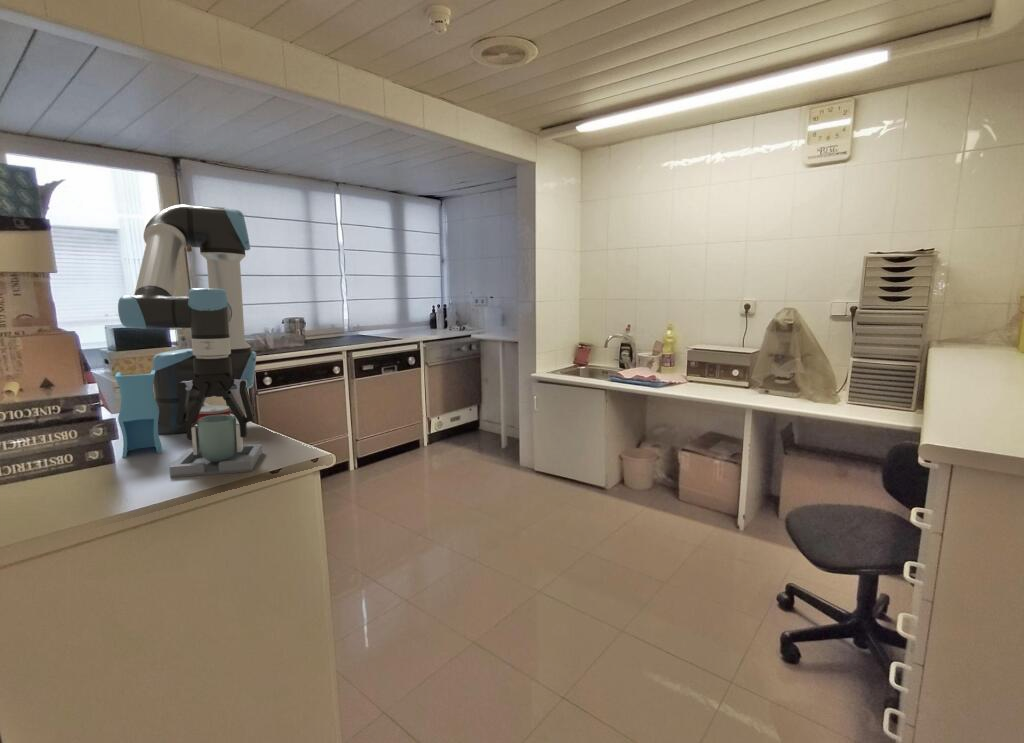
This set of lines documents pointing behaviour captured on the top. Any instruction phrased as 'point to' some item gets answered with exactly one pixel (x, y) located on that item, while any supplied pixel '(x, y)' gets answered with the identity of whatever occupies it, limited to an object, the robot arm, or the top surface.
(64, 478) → the top surface
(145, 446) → the blue wavy stand
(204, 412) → the canned food
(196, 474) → the grey square tray
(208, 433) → the cup
